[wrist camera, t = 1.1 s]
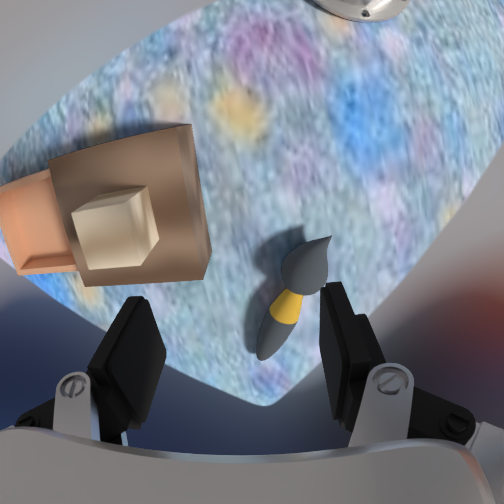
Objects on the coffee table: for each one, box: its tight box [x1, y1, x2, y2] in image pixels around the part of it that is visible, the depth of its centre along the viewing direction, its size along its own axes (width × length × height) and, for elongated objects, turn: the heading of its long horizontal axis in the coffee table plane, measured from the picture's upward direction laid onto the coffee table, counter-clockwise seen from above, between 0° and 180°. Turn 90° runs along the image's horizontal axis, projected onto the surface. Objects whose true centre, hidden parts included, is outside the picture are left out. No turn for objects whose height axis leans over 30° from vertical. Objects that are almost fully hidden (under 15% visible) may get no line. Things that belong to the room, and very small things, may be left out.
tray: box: [0, 168, 79, 275], centre depth 31 cm, size 12×13×4 cm
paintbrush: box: [256, 235, 332, 361], centre depth 34 cm, size 20×5×5 cm, turn 167°
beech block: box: [71, 186, 159, 270], centre depth 24 cm, size 5×5×5 cm
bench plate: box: [48, 124, 212, 287], centre depth 29 cm, size 14×14×6 cm
